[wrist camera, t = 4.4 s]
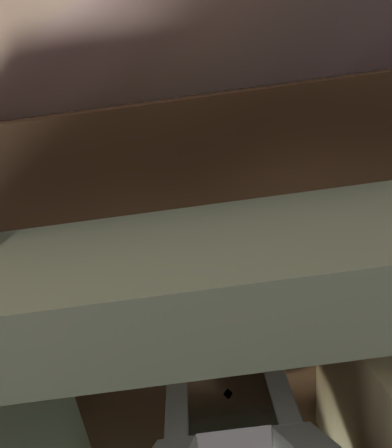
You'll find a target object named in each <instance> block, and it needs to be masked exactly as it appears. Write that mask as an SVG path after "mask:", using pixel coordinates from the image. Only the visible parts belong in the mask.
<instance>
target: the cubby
mask: <svg viewBox="0 0 392 448" xmlns="http://www.w3.org/2000/svg"><path fill="white" fill-rule="evenodd" d="M387 356H392V180H389V181H382V182H374V183H367V184H359V185H352V186H344V187H337V188H329V189H322V190H314V191H307V192H299V193H292V194H284V195H276V196H269V197H261V198H254V199H246V200H239V201H231V202H224V203H216V204H209V205H201V206H194V207H186V208H178V209H171V210H163V211H156V212H148V213H141V214H133V215H126V216H118V217H111V218H103V219H96V220H88V221H81V222H73V223H65V224H58V225H50V226H43V227H35V228H28V229H20V230H13V231H5V232H0V448H91V445H90V442H89V439H88V436H87V432H86V429H85V426H84V423H83V420H82V417H81V414H80V411H79V408H78V405H77V402H76V399H75V397H76V396H83V395H91V394H99V393H107V392H115V391H122V390H130V389H138V388H146V387H153V386H161V385H169V384H177V383H185V382H192V381H200V380H208V379H216V378H223V377H231V376H239V375H247V374H255V373H262V372H270V371H278V370H286V369H294V368H301V367H309V366H317V365H325V364H332V363H340V362H348V361H356V360H364V359H371V358H379V357H387Z"/></svg>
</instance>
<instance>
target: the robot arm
mask: <svg viewBox="0 0 392 448" xmlns="http://www.w3.org/2000/svg"><path fill="white" fill-rule="evenodd" d="M152 448H342V447H341V446H340V445H339V444H337V443H336V442H335V441H334V440H332V439H331V438H330V437H329V436H328V435H326V434H325V433H324V432H323V431H321V430H320V429H319V428H318V427H317V426H315V425H314V424H313V423H312V422H310V421H309V422H304V421H303V418H302V416H301V413H300V410H299V408H298V405H297V402H296V400H295V397H294V394H293V392H292V389H291V386H290V384H289V381H288V378H287V376H286V373H285V370H278V371H270V372H262V373H255V374H247V375H239V376H231V377H223V378H216V379H208V380H200V381H192V382H185V383H177V384H169V385H166V404H165V424H164V439H159V440H157V441H156V443H155V444H154V445H153V447H152Z"/></svg>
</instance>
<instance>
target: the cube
mask: <svg viewBox="0 0 392 448" xmlns="http://www.w3.org/2000/svg"><path fill="white" fill-rule="evenodd" d="M316 422H317V424H318V427H319V429H320V430H321V431H323V432H324V433H325V434H326V435H328V436H329V437H330V438H331V439H332V440H334V441H335V442H336V443H337V444H339V445H340V446H341V447H342V448H392V356H387V357H379V358H371V359H364V360H356V361H348V362H340V363H332V364H325V365H317V366H316Z"/></svg>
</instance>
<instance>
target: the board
mask: <svg viewBox="0 0 392 448" xmlns="http://www.w3.org/2000/svg"><path fill="white" fill-rule="evenodd" d="M389 180H392V69H384V70H377V71H370V72H362V73H355V74H347V75H340V76H333V77H325V78H318V79H311V80H303V81H296V82H288V83H281V84H274V85H266V86H259V87H251V88H244V89H237V90H229V91H222V92H214V93H207V94H200V95H192V96H185V97H178V98H170V99H163V100H155V101H148V102H141V103H133V104H126V105H118V106H111V107H104V108H96V109H89V110H82V111H74V112H67V113H59V114H52V115H45V116H37V117H30V118H22V119H15V120H8V121H0V232H5V231H13V230H20V229H28V228H35V227H43V226H50V225H58V224H65V223H73V222H81V221H88V220H96V219H103V218H111V217H118V216H126V215H133V214H141V213H148V212H156V211H163V210H171V209H178V208H186V207H194V206H201V205H209V204H216V203H224V202H231V201H239V200H246V199H254V198H261V197H269V196H276V195H284V194H292V193H299V192H307V191H314V190H322V189H329V188H337V187H344V186H352V185H359V184H367V183H374V182H382V181H389ZM285 373H286V376H287V378H288V381H289V384H290V386H291V389H292V392H293V394H294V397H295V400H296V402H297V405H298V408H299V410H300V413H301V416H302V418H303V421H304V422H309V421H310V422H312V423H313V424H314V425H315V426H317V427H318V424H317V422H316V366H309V367H301V368H294V369H286V370H285ZM75 399H76V402H77V405H78V408H79V411H80V414H81V417H82V420H83V423H84V426H85V429H86V432H87V436H88V439H89V442H90V445H91V448H152V447H153V445H154V444H155V443H156V441H157V440H159V439H164V424H165V404H166V385H161V386H153V387H146V388H138V389H130V390H122V391H115V392H107V393H99V394H91V395H83V396H76V397H75ZM318 428H319V427H318Z"/></svg>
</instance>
